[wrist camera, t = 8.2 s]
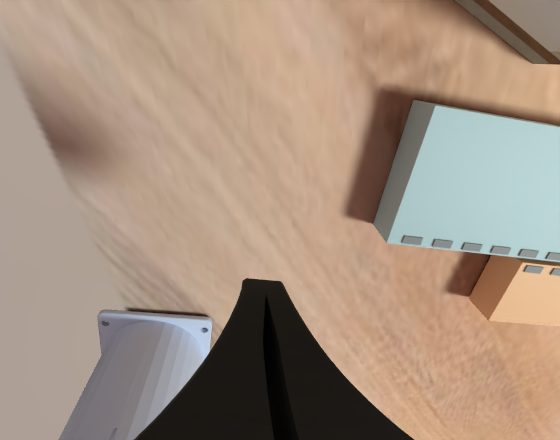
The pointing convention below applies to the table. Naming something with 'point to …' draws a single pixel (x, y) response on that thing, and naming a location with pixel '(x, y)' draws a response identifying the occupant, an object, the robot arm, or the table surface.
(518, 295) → the stub
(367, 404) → the robot arm
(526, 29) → the brown-striped cream pillar
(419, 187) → the notched pale blue slab
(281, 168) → the table surface
